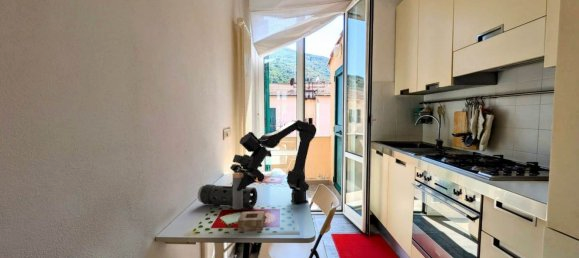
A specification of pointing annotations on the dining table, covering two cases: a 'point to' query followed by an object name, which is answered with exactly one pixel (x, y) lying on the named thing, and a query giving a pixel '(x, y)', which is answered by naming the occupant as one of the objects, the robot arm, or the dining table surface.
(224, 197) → the muzzle brake
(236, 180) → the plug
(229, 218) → the mat
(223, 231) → the dining table surface
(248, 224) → the socket block
